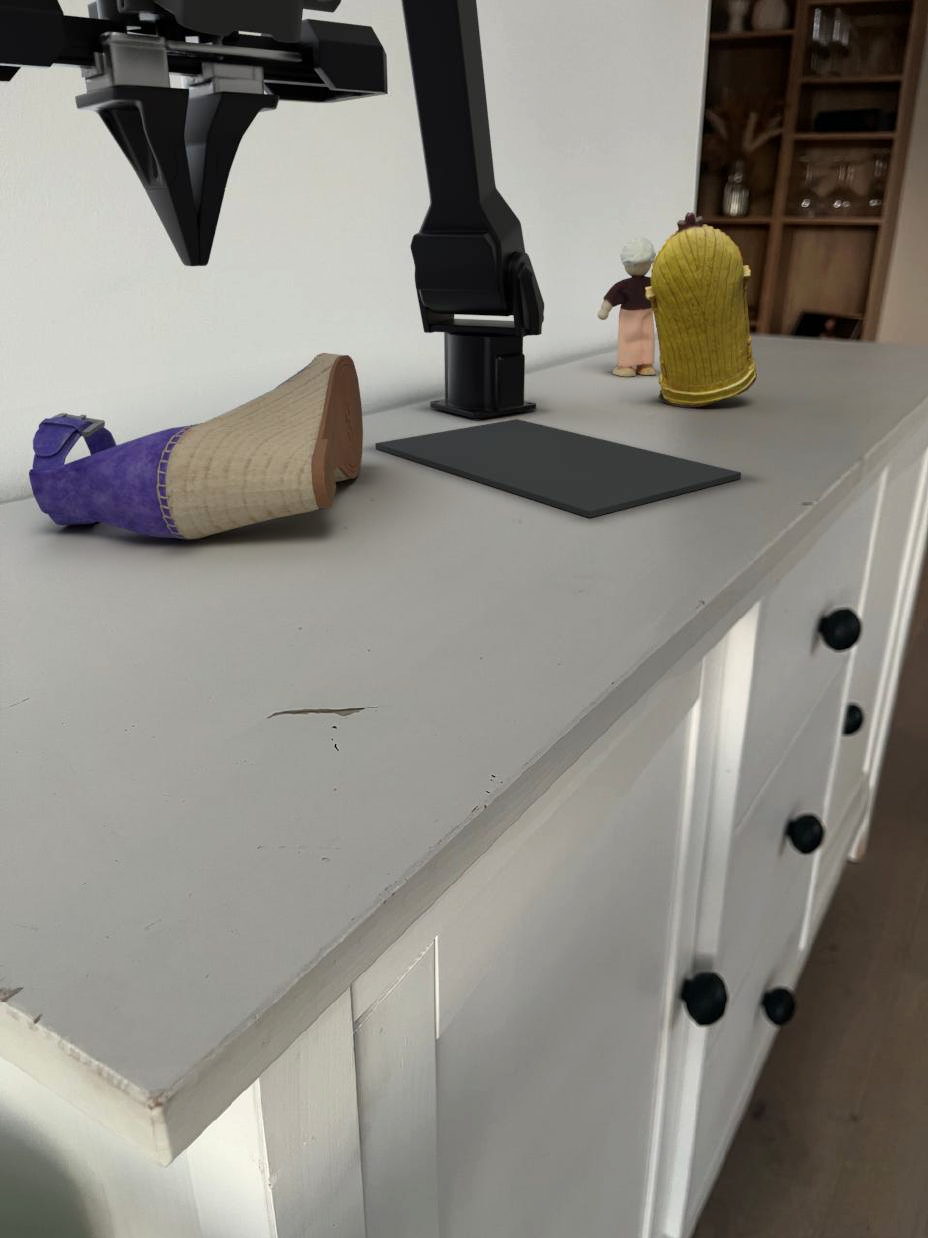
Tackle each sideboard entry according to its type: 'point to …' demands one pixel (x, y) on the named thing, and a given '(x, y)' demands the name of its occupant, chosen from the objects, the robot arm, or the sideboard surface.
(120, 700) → the sideboard surface
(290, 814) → the sideboard surface
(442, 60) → the robot arm
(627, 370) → the grandmother figurine
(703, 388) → the shrine
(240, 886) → the sideboard surface
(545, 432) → the mat
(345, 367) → the sandal
